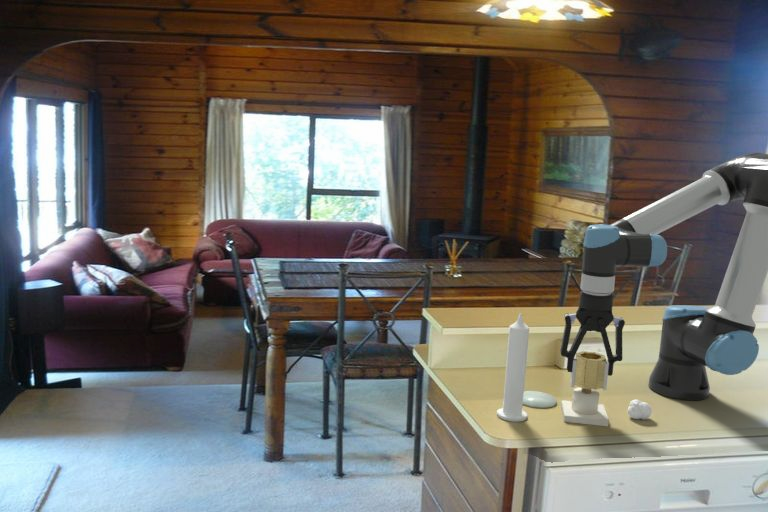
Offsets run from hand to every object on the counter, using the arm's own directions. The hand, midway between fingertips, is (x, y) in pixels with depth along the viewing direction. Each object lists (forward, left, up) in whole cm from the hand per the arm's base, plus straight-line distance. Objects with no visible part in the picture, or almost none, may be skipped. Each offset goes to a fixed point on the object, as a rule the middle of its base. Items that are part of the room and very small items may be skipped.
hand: (588, 386), depth 176 cm
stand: (0, 0, -7) cm, 7 cm away
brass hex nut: (0, 0, +1) cm, 1 cm away
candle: (+17, +5, -8) cm, 20 cm away
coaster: (+11, -7, -7) cm, 15 cm away
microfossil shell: (-13, -3, -8) cm, 15 cm away
